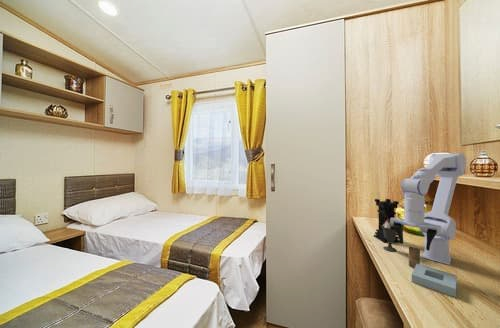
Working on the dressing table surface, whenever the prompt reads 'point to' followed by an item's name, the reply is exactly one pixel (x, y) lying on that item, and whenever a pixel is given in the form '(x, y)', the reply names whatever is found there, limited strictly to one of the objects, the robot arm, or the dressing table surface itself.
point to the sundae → (389, 234)
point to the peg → (414, 256)
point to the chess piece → (389, 211)
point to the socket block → (435, 279)
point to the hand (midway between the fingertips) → (414, 246)
